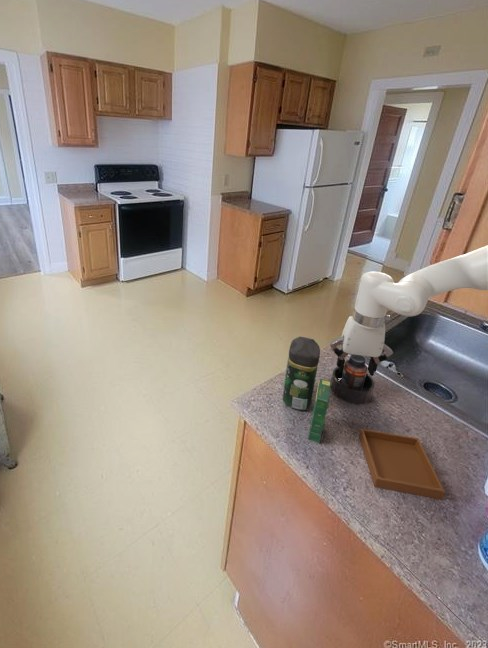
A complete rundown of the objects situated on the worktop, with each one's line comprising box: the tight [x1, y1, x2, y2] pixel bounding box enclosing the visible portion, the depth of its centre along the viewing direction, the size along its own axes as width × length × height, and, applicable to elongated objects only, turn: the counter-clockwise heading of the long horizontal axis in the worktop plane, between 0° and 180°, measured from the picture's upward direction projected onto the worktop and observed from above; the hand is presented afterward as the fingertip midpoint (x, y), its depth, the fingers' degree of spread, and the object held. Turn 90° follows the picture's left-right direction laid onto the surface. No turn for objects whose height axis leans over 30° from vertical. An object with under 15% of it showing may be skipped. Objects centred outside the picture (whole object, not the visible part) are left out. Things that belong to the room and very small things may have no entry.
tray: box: [358, 428, 446, 501], centre depth 73 cm, size 13×13×2 cm
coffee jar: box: [282, 336, 321, 411], centre depth 88 cm, size 10×8×19 cm
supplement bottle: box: [341, 354, 368, 391], centre depth 93 cm, size 6×6×11 cm
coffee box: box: [307, 378, 331, 444], centre depth 79 cm, size 8×3×13 cm, turn 155°
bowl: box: [330, 366, 375, 406], centre depth 94 cm, size 11×11×4 cm
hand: (355, 370), depth 92 cm, fingers open, 7 cm apart
